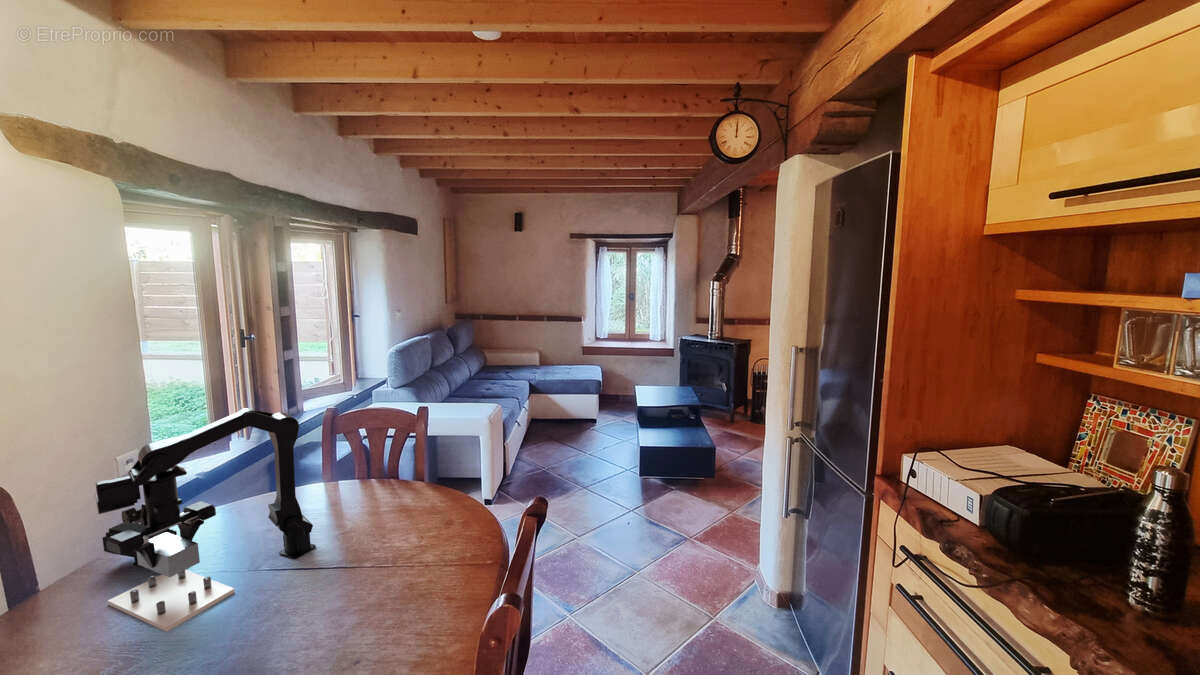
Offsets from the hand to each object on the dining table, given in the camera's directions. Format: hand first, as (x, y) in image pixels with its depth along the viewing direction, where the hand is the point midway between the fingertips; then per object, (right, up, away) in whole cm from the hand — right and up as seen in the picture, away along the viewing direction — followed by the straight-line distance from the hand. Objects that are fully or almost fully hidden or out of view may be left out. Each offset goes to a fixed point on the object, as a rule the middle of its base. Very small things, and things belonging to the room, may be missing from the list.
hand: (168, 559), depth 114 cm
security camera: (-18, -8, +14) cm, 24 cm away
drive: (0, -1, 0) cm, 1 cm away
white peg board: (0, -10, +1) cm, 10 cm away
